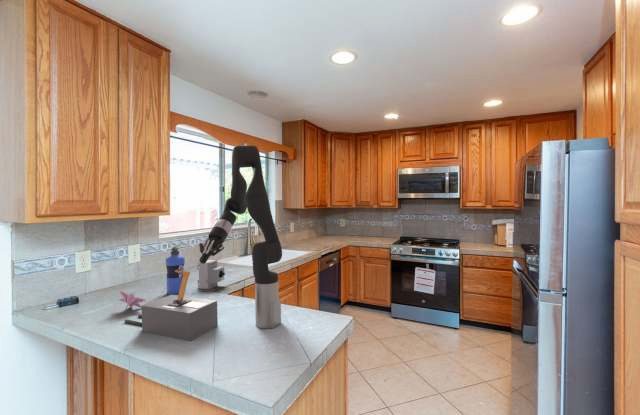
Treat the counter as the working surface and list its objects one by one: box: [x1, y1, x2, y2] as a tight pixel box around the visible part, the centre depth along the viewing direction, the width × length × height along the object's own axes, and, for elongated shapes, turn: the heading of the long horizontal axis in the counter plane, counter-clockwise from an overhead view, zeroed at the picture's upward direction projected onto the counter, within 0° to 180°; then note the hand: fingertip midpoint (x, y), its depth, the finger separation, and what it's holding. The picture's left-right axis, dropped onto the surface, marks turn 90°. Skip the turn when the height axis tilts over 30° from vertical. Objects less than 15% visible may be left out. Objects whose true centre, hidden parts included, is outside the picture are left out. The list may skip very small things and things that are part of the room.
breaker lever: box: [177, 271, 191, 302], centre depth 118 cm, size 2×1×12 cm, turn 69°
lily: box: [117, 290, 147, 315], centre depth 136 cm, size 12×12×10 cm
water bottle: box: [165, 246, 186, 296], centre depth 163 cm, size 9×9×25 cm
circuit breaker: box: [196, 259, 226, 290], centre depth 173 cm, size 8×14×15 cm, turn 78°
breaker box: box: [124, 294, 219, 342], centre depth 119 cm, size 39×14×11 cm, turn 69°
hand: (201, 262), depth 127 cm, fingers closed
